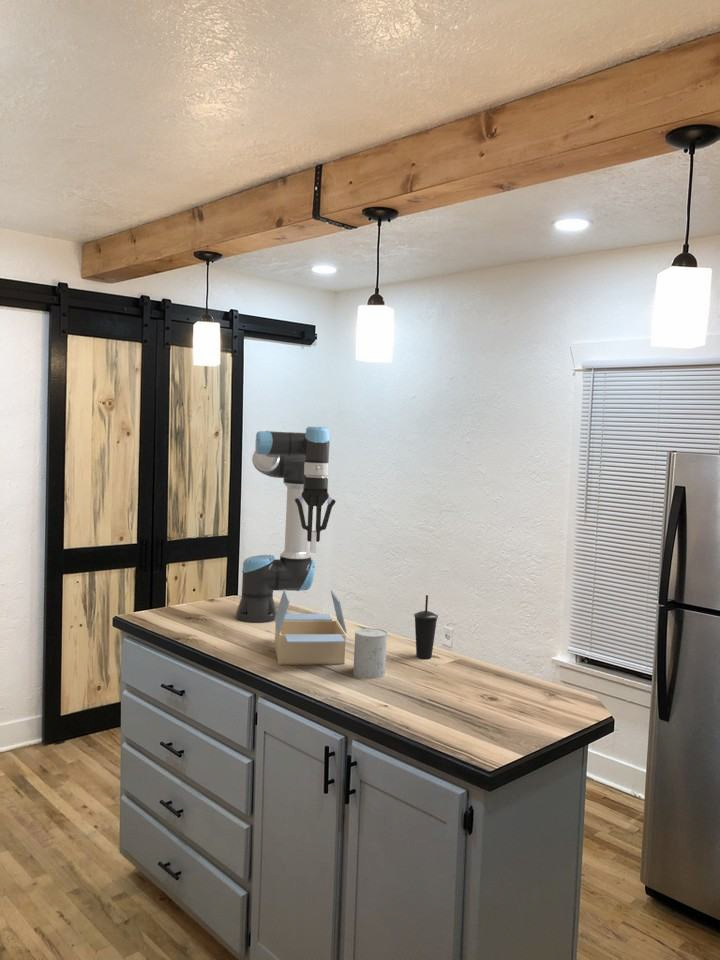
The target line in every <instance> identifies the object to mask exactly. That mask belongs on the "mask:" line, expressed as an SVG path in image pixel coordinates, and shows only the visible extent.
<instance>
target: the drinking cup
mask: <svg viewBox="0 0 720 960" xmlns="http://www.w3.org/2000/svg"><path fill="white" fill-rule="evenodd" d="M428 604H429V595H428V594H427V595H425V606H424V607H425V609H424V610H420V611H418V612H415V613H413V617H414V627H415V628H414V629H415V649H416V650H415V651H416V653H415V655H416V658H418V659H421V660H429V659H432V657H433V648H434V644H435V643H434V642H435V635H436V627H437V621H438V618H439V615H438V614H436V613H434V612H432V611H429V610H428V607H429V606H428Z"/></svg>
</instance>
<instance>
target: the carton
mask: <svg viewBox="0 0 720 960" xmlns="http://www.w3.org/2000/svg"><path fill="white" fill-rule="evenodd" d="M274 630H275V631H274V651H275V656H276V659H277V664H278V666H302V665H303V666H304V665H305V666H306V665H307V666H309V665H318V666H319V665H322V666H323V665H345V662H346V661H345V655H346V639H347V637H346V633H345V632H344V630H343V628H342V627H341V625H340V623H339V622H338V620H333V618H332V617H331V615H330V613H286V615H285V618H284V621H283V625H282V628H281V631H280V633H278V629H277V626H276V624H275V629H274Z"/></svg>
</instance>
